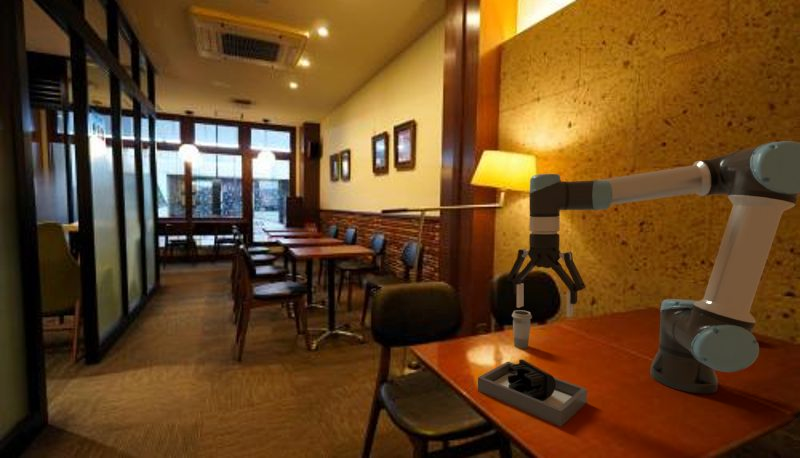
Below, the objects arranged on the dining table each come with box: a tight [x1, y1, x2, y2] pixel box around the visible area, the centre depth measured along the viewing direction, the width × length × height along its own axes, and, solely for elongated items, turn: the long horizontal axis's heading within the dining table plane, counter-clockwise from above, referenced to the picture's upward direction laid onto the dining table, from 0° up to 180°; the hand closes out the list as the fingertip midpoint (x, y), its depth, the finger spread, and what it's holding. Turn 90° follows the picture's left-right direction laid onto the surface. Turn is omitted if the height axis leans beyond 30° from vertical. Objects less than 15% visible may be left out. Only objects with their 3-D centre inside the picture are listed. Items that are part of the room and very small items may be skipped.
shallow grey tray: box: [477, 361, 588, 428], centre depth 95 cm, size 22×15×4 cm
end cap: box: [508, 359, 556, 401], centre depth 95 cm, size 10×7×7 cm
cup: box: [511, 309, 533, 350], centre depth 130 cm, size 7×7×12 cm
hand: (543, 311), depth 100 cm, fingers open, 13 cm apart
